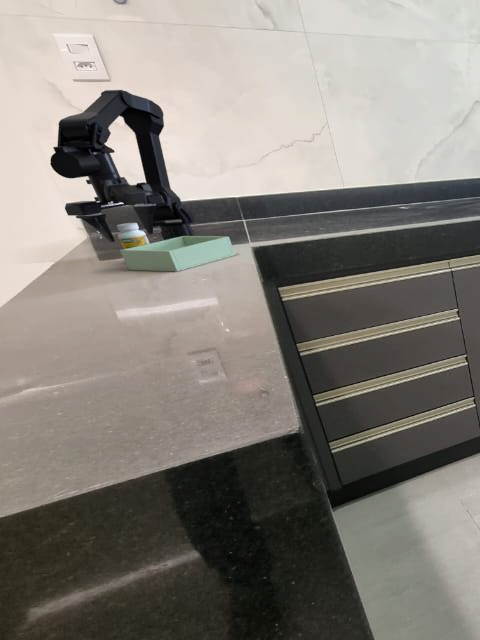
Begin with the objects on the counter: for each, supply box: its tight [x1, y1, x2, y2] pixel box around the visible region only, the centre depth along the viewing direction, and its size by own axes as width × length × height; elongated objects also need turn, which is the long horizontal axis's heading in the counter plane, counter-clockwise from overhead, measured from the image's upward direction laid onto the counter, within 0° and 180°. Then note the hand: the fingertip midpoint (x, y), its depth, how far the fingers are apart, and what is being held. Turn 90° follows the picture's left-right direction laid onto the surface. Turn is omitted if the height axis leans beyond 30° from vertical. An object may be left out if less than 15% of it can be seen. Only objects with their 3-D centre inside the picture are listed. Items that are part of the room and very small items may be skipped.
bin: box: [119, 235, 236, 272], centre depth 135 cm, size 16×16×5 cm
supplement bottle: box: [116, 222, 151, 250], centre depth 137 cm, size 5×5×10 cm
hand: (132, 237), depth 136 cm, fingers open, 9 cm apart
